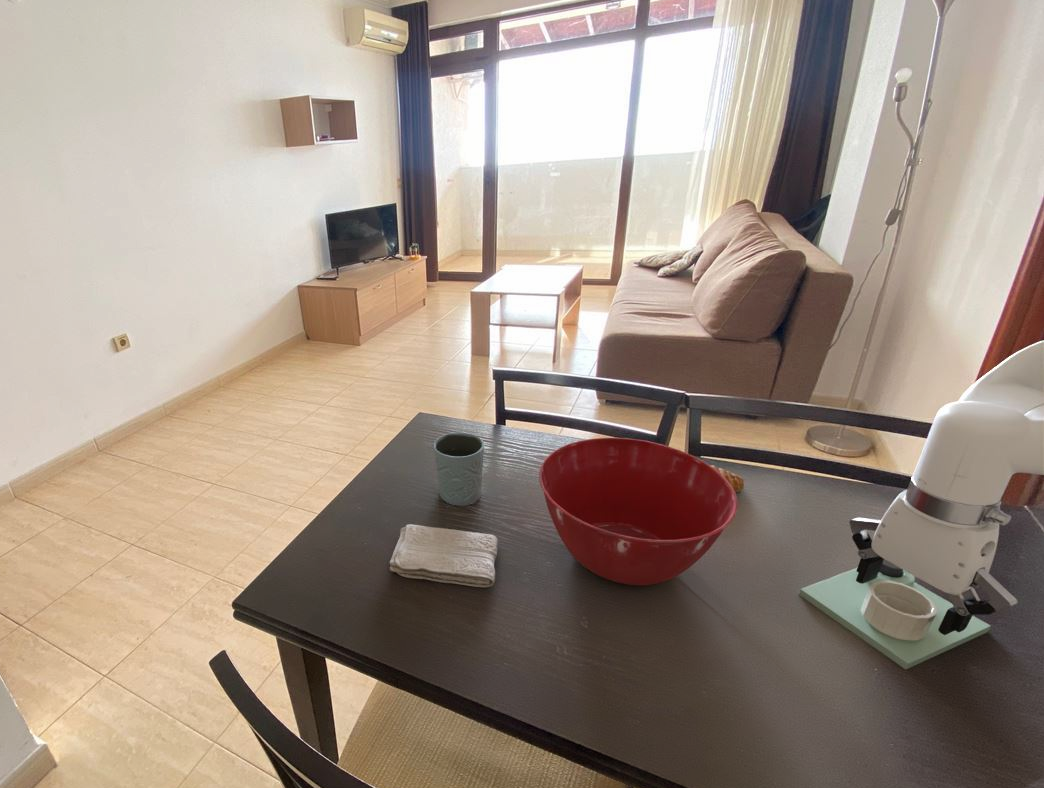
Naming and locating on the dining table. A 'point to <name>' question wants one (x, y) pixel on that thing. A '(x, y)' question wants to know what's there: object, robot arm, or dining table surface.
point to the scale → (844, 605)
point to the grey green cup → (459, 467)
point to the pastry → (732, 479)
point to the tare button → (890, 569)
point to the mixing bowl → (635, 507)
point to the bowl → (898, 610)
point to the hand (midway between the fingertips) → (904, 603)
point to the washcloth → (445, 556)
